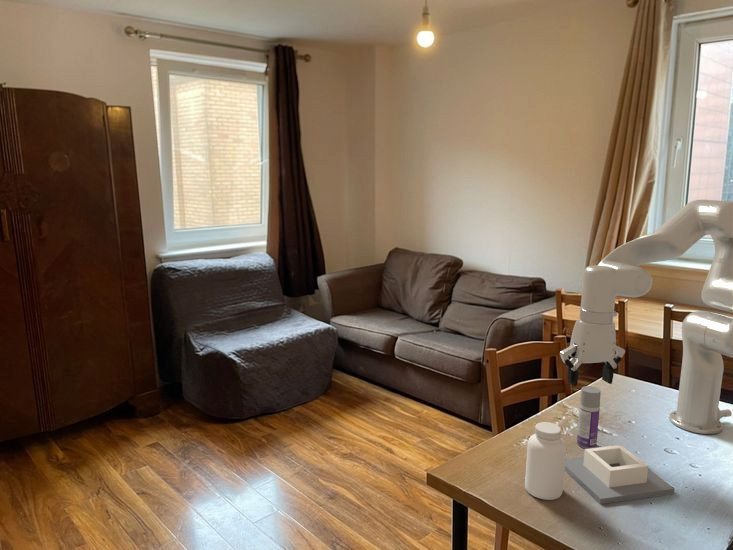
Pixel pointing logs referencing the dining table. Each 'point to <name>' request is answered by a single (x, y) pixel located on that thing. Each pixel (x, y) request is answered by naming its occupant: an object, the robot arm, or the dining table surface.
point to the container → (588, 417)
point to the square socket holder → (615, 475)
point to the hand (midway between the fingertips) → (589, 383)
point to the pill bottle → (545, 462)
